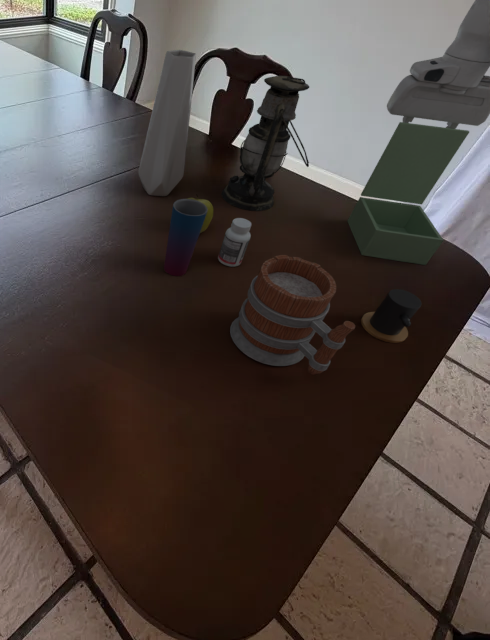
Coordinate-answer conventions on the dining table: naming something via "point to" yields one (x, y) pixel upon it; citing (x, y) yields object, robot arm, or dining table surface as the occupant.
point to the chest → (393, 231)
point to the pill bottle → (235, 242)
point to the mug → (289, 315)
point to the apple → (208, 215)
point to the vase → (168, 125)
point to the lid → (413, 162)
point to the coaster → (387, 338)
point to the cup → (183, 234)
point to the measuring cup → (395, 312)
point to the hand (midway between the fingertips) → (419, 138)
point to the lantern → (266, 146)
